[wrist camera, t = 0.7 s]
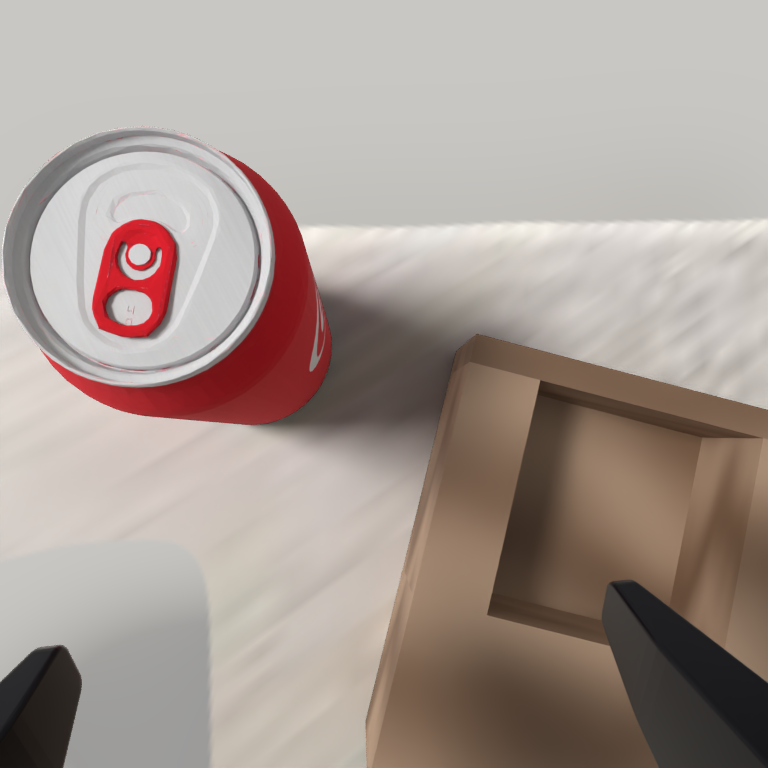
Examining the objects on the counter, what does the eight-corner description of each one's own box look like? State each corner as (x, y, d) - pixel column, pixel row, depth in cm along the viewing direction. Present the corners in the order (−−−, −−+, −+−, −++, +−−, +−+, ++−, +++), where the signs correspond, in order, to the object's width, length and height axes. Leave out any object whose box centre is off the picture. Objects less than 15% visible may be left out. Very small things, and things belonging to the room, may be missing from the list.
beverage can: (343, 288, 23) (327, 129, 11) (318, 436, 22) (272, 438, 10) (193, 263, 23) (11, 73, 11) (164, 411, 22) (-64, 385, 10)
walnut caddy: (686, 800, 22) (759, 882, 18) (365, 721, 21) (367, 787, 17) (754, 429, 23) (837, 428, 19) (455, 351, 23) (476, 333, 19)
